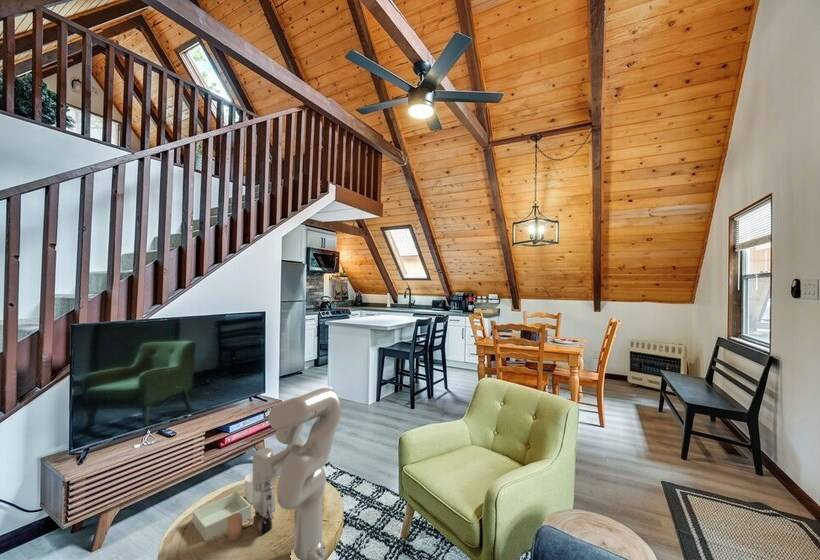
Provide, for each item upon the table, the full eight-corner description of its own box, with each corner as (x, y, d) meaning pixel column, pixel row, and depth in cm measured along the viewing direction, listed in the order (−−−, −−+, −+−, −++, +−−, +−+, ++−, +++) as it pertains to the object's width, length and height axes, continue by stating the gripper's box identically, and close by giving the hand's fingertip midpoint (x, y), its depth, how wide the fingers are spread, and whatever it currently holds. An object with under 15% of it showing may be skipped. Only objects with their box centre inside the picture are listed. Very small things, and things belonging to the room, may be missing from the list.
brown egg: (244, 535, 138) (244, 517, 137) (230, 542, 134) (230, 524, 134) (238, 529, 141) (238, 511, 141) (225, 536, 137) (225, 517, 137)
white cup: (255, 506, 154) (255, 483, 154) (240, 502, 157) (240, 479, 156) (268, 495, 162) (268, 473, 161) (253, 491, 164) (254, 470, 164)
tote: (250, 517, 147) (251, 505, 147) (204, 540, 135) (205, 527, 134) (237, 503, 156) (237, 491, 156) (192, 523, 143) (192, 511, 143)
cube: (272, 528, 142) (272, 516, 141) (259, 535, 138) (259, 522, 138) (265, 522, 145) (266, 510, 145) (253, 528, 141) (253, 516, 141)
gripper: (283, 487, 138) (282, 533, 139) (262, 469, 149) (261, 513, 150) (264, 496, 132) (263, 544, 133) (243, 477, 144) (243, 522, 144)
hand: (262, 527), depth 141 cm, fingers closed on cube, 5 cm apart
